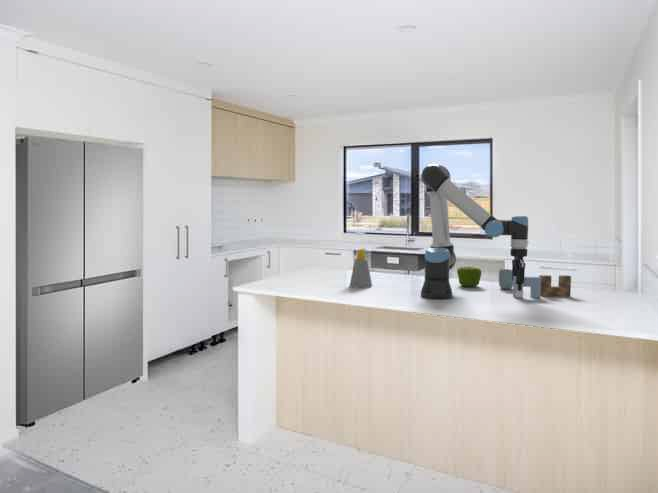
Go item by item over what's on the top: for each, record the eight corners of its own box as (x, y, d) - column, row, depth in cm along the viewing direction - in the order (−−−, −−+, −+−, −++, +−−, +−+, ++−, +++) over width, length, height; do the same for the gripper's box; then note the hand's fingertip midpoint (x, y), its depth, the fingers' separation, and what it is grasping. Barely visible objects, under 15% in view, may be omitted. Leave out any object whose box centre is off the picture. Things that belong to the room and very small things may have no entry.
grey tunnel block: (514, 297, 241) (515, 277, 240) (512, 296, 244) (513, 276, 243) (540, 298, 240) (541, 277, 239) (538, 297, 243) (538, 276, 242)
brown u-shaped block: (540, 296, 245) (541, 276, 244) (538, 295, 248) (539, 275, 247) (570, 296, 244) (571, 276, 243) (567, 295, 247) (568, 275, 246)
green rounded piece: (485, 286, 272) (485, 266, 271) (470, 289, 265) (470, 267, 264) (467, 283, 283) (467, 263, 282) (452, 285, 276) (452, 265, 275)
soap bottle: (376, 285, 277) (376, 248, 275) (365, 288, 266) (365, 250, 265) (356, 283, 284) (356, 247, 282) (345, 286, 273) (345, 249, 271)
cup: (514, 290, 261) (515, 271, 260) (499, 289, 263) (499, 271, 262) (512, 287, 269) (513, 269, 268) (497, 287, 270) (497, 269, 270)
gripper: (532, 249, 232) (530, 299, 234) (521, 246, 248) (520, 293, 250) (516, 249, 232) (514, 299, 234) (506, 246, 248) (504, 293, 250)
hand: (517, 296), depth 242 cm, fingers closed on grey tunnel block, 3 cm apart
